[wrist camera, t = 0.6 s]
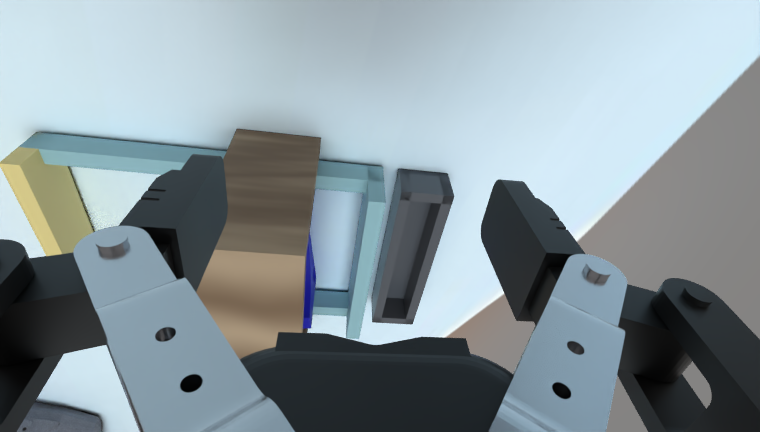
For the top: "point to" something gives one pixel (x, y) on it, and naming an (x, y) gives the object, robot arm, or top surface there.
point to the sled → (66, 212)
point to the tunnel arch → (262, 239)
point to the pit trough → (410, 243)
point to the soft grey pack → (58, 420)
